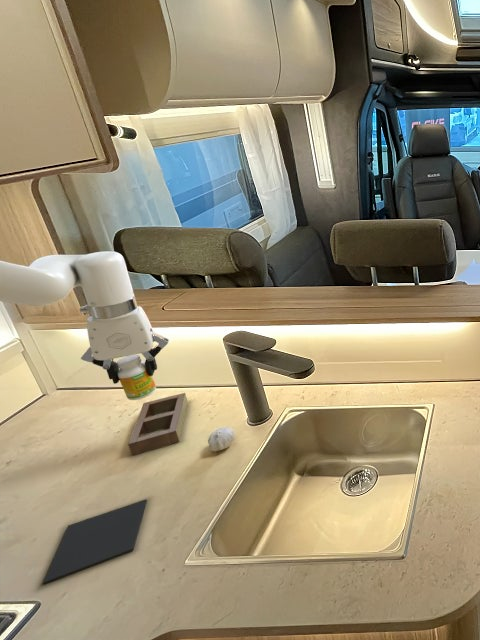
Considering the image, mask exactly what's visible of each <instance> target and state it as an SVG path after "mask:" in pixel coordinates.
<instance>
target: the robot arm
mask: <svg viewBox="0 0 480 640" xmlns="http://www.w3.org/2000/svg"><path fill="white" fill-rule="evenodd" d="M77 287H81V289H82V292H83V295H84V298H85V300H86V304H85V305H84V306H80V307H79V311H80V313H81V314H84V313H86V314H88V315H89V316H88V317H87V318H86V330H87V337H88V343H89V347H88V348H87V349H86V350H85V351H84V353H83V354H82V355H81V357H80V360H82V361H85V362H87V363H92V364H93V365H95V366H98V367H101V368H102V369H103V370H104V371H105V370H106V373H107V376H108V379H109V380H112V383H113V384H114V385H115V384H118V383H119V382H120V380H119V378H118V375H117V373H118V371H119V370H120V368H119V367H118V364H117V362H116V361H115V360H114V359H121V358H124V357H126V356H130V355H140V354H141V356H143V357H144V358H145V360H144V362H145V365H146V369H147V372H148V376H152V377H153V376H154V374H155V371H157V370H158V364H157V360H156V356H157V355H158V354H159V353H160V352H161V351H162V350H163V349H164V348H165V347H166V346H167V345H168V344H169V341H170V340H169V339H168V338H166V337H164V336H163V335H160V334H158V333H157V332H154V329H153V327H152V324H151V322H150V319H149V318H148V316H147V314H146V312H145V310H144V309H143V307H142V306H140V305H138V303H137V299H136V296H135V292H134V289H133V285H132V282H131V279H130V275H129V272H128V268H127V263H126V260H125V258H124V256H123V255H122V254H121V253H119V252H117V251H96V252H92V253H91V252H90V253H87V254H51V255H50V254H49V255H45V256H41V257H39V258H37V259H35V260H34V261H32V262H31V263H30V264H29V266H27V265H22V264H18V263H17V264H16V263H13V262H7V261H3V260H0V302H3V303H9V304H13V305H14V304H15V305H20V306H28V307H29V306H30V307H43V306H50V305H55V304H57V303H60V302H62V301H63V300H64V299H66V298H67V297H68V296H69V294H70V293H71V292H72V290H73V289H75V288H77ZM154 342H155V343H157V344H156V345H155V346H154Z"/></svg>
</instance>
